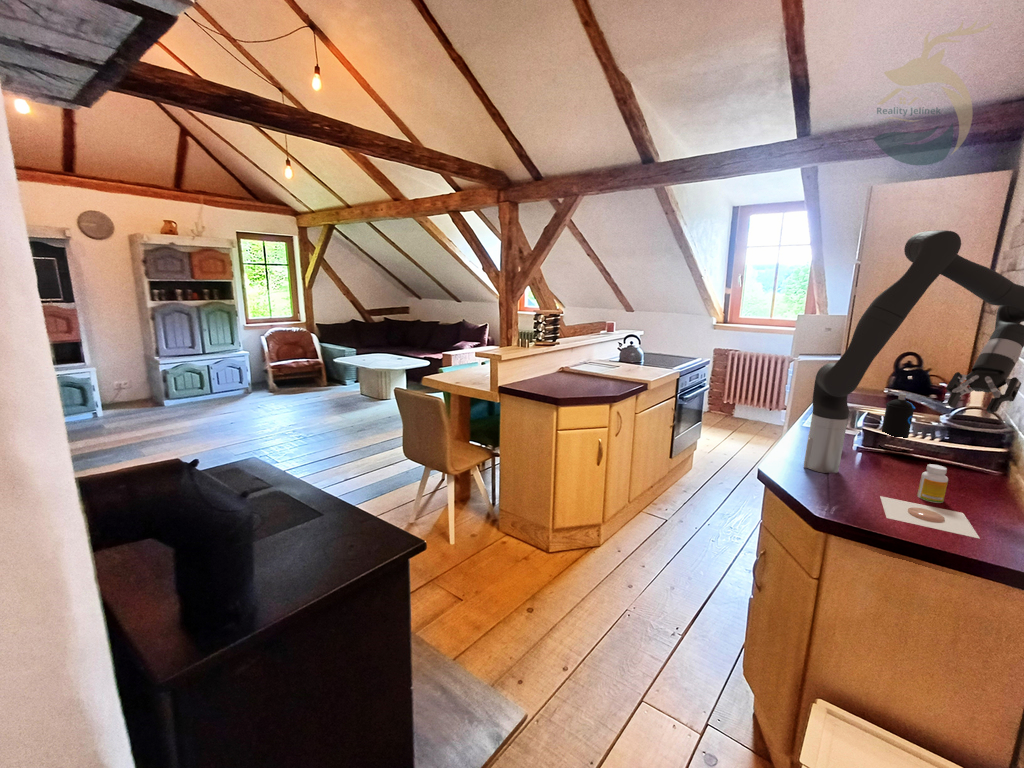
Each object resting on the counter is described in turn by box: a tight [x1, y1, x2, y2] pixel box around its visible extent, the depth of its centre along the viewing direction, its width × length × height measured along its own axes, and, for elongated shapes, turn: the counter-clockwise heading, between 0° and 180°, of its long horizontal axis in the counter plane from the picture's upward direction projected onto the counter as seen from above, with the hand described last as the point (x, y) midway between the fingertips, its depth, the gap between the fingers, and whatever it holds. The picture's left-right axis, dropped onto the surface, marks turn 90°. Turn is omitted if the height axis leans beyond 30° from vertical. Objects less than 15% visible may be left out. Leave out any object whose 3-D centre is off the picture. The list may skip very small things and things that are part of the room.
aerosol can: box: [881, 393, 916, 439], centre depth 170 cm, size 8×8×20 cm
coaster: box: [908, 508, 945, 522], centre depth 119 cm, size 7×7×1 cm
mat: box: [879, 495, 981, 539], centre depth 119 cm, size 17×15×1 cm
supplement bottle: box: [916, 463, 949, 504], centre depth 128 cm, size 5×5×10 cm
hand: (969, 409), depth 130 cm, fingers open, 8 cm apart
